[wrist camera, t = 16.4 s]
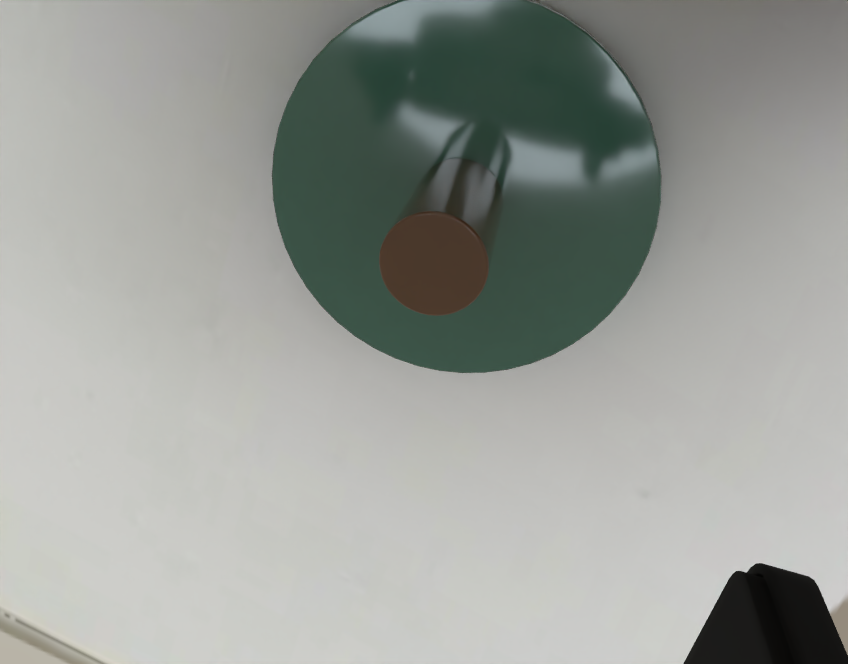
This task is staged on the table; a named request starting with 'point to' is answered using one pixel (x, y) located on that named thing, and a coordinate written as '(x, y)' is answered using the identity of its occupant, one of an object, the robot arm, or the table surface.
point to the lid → (466, 182)
